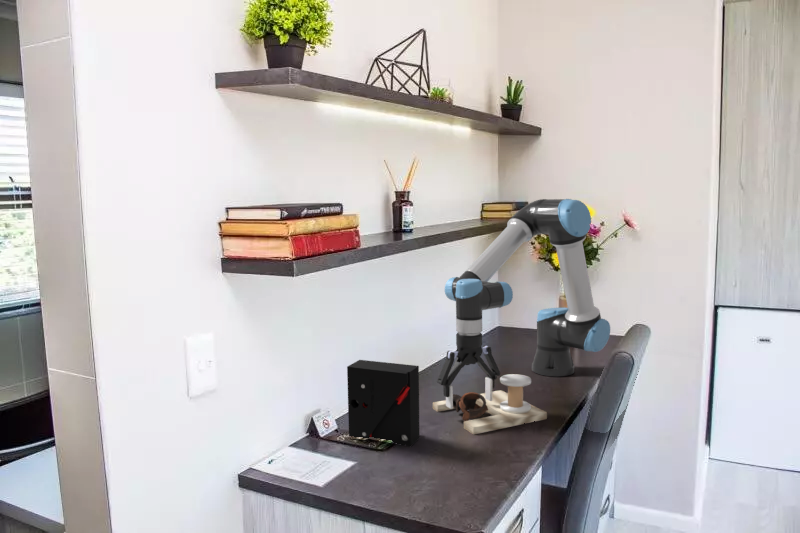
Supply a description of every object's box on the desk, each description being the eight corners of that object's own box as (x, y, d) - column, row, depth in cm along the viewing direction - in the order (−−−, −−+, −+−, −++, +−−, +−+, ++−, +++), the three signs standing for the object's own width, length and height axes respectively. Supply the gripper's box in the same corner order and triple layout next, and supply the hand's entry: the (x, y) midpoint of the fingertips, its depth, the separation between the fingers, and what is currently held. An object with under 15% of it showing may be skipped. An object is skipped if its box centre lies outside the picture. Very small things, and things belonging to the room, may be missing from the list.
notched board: (500, 396, 203) (500, 390, 203) (546, 418, 182) (546, 412, 182) (432, 408, 192) (432, 402, 192) (473, 434, 172) (473, 427, 171)
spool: (518, 401, 192) (518, 372, 191) (537, 410, 184) (537, 380, 183) (493, 406, 188) (494, 376, 187) (511, 415, 180) (512, 385, 179)
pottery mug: (490, 413, 189) (493, 395, 184) (479, 436, 182) (481, 418, 177) (453, 399, 193) (455, 380, 188) (440, 421, 186) (442, 402, 181)
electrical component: (422, 435, 172) (421, 363, 169) (408, 449, 162) (407, 374, 160) (364, 426, 179) (363, 357, 176) (347, 439, 169) (345, 367, 167)
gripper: (497, 325, 191) (497, 393, 194) (425, 334, 181) (425, 406, 183) (512, 330, 185) (511, 400, 187) (437, 340, 174) (438, 414, 176)
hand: (469, 403), depth 185 cm, fingers open, 13 cm apart
